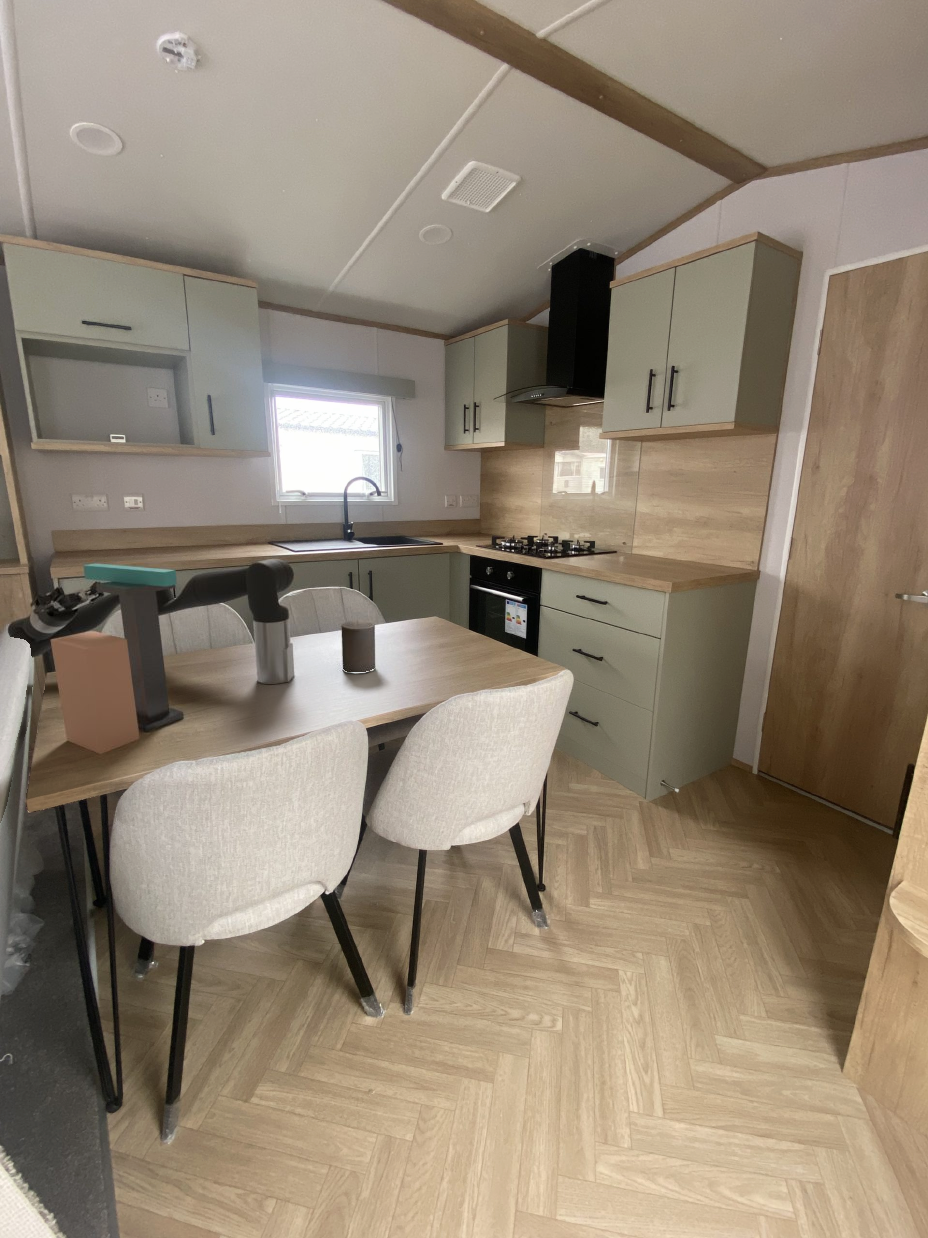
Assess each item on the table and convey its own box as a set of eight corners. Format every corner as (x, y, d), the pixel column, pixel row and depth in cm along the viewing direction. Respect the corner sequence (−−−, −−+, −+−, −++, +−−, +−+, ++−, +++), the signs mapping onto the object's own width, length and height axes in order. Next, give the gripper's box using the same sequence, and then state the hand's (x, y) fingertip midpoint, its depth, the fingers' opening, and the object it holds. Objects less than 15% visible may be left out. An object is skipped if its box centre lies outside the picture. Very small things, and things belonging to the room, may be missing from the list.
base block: (67, 740, 116) (50, 639, 111) (106, 726, 123) (92, 630, 118) (100, 754, 111) (84, 649, 105) (139, 738, 118) (126, 639, 112)
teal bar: (85, 578, 121) (83, 565, 121) (97, 576, 124) (95, 563, 123) (165, 586, 115) (164, 572, 114) (177, 584, 118) (175, 570, 117)
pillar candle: (335, 671, 161) (334, 621, 158) (354, 662, 170) (353, 614, 166) (364, 676, 158) (363, 625, 154) (382, 666, 167) (381, 618, 163)
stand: (115, 724, 124) (95, 583, 116) (161, 708, 133) (146, 576, 126) (143, 734, 119) (124, 588, 112) (189, 716, 129) (174, 581, 121)
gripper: (89, 621, 145) (118, 596, 137) (27, 633, 132) (54, 607, 124) (77, 595, 145) (105, 569, 137) (14, 605, 133) (40, 577, 124)
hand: (81, 587), depth 130 cm, fingers open, 8 cm apart
